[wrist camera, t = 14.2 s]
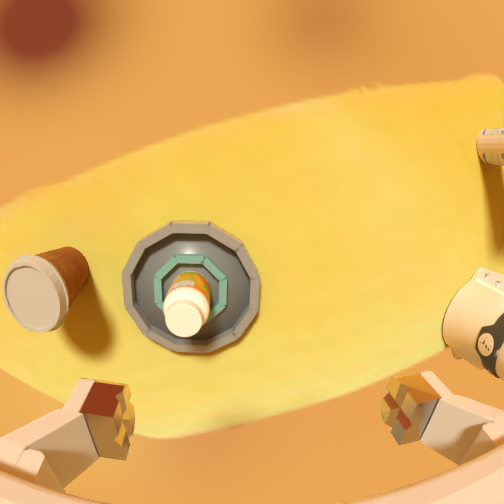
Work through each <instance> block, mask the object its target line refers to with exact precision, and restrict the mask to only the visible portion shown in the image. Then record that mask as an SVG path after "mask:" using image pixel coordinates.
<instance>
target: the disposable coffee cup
mask: <svg viewBox="0 0 504 504" xmlns="http://www.w3.org/2000/svg"><path fill="white" fill-rule="evenodd" d="M88 275H89V268H88V264H87V261H86V259H85V257H84V256H83V254H82V253H81V252H80V251H78V250H77V249H75V248H73V247H63V248H60V249H56V250H52V251H48V252H45V253H41V254H37V255H23V256H20V257H18V258H16V259H15V260H13V262H12V263H11V264H10V266H9V267H8V270H7V272H6V274H5V276H4V279H3V287H2V290H3V297H4V301H5V304H6V306H7V308H8V310H9V312H10V314H11V315H12V316H13V318H14V319H15V320H16V321H17V322H18V323H19V324H20V325H21V326H22V327H24V328H26V329H28V330H30V331H33V332H37V333H42V332H48V331H53V330H55V329H57V328H58V327H60V326H61V325H62V323H63V322H64V321H65V319H66V316H67V313H68V309H69V307H70V305H71V304H72V302H73V301H74V299H75V298H76V296H77V294H78V293H79V291H80V290H81V288H82V287H83V285H84V284H85V282H86V281H87V279H88Z"/></svg>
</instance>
